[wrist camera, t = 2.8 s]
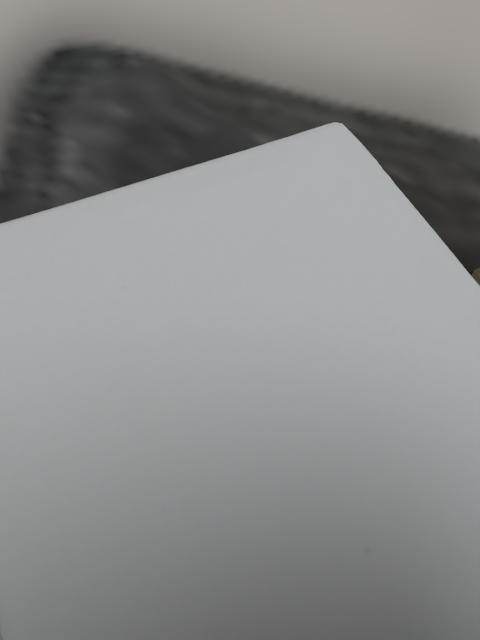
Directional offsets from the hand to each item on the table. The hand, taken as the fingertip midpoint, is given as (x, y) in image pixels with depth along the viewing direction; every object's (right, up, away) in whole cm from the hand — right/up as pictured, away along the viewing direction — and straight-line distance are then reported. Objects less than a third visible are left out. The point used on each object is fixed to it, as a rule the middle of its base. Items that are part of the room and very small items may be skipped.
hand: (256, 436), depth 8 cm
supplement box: (-2, -3, +8) cm, 9 cm away
